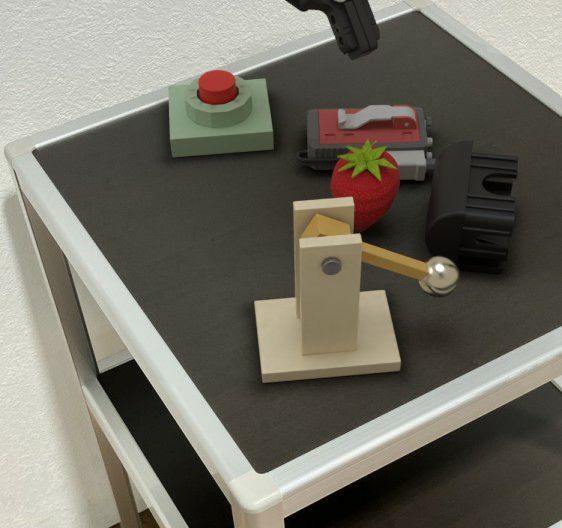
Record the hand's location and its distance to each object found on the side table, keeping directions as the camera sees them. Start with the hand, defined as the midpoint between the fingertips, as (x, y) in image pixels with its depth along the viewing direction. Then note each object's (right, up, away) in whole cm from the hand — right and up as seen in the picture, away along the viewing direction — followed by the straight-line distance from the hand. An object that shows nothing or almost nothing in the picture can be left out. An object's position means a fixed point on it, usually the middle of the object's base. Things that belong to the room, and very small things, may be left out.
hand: (365, 54), depth 71 cm
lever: (+1, -16, +3) cm, 16 cm away
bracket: (-3, -21, +8) cm, 22 cm away
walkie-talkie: (+5, -2, +24) cm, 24 cm away
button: (-12, +4, +24) cm, 28 cm away
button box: (-12, +2, +27) cm, 30 cm away
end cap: (+10, -11, +16) cm, 22 cm away
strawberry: (+1, -10, +17) cm, 20 cm away
